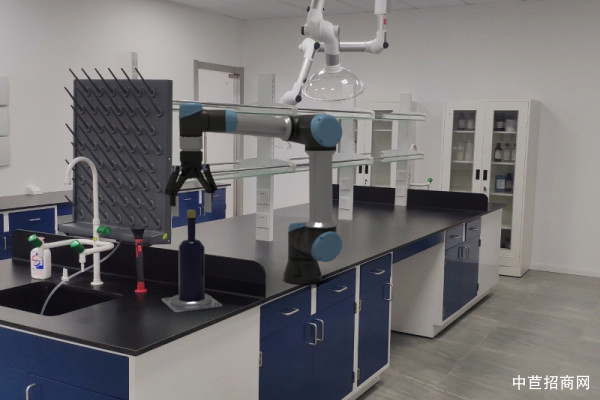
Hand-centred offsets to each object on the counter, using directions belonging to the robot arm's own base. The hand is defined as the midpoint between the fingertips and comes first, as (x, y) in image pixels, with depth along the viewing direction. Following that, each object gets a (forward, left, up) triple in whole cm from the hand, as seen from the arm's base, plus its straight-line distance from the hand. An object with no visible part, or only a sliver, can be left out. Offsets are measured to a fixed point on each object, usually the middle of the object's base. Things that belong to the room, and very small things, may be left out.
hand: (192, 214), depth 209 cm
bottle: (0, 0, -29) cm, 29 cm away
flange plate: (0, 0, -30) cm, 30 cm away
